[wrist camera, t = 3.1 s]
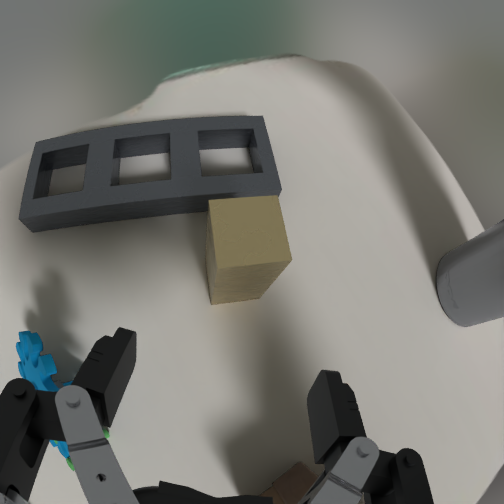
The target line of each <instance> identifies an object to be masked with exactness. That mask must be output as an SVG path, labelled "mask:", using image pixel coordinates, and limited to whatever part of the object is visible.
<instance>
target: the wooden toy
mask: <svg viewBox="0 0 504 504" xmlns="http://www.w3.org/2000/svg"><path fill="white" fill-rule="evenodd" d="M317 478H318V476H317V475H316V474H315V473H314V472H312V471H311V470H310V469H309V468H308V467H307V466H306V465H304V464H303V463H302V462H299V463H297V464H296V465H295V466H294V467H292V468H291V469H290V470H289V471H287V472H286V473H285V474H284V475H282V476H281V477H280V478H278V479H277V480H276V481H274V482H273V486H272V487H271V488H269V489H268V490H266V491H265V492H264V493H262V494H261V495H259V496H264V497H273V503H274V504H297V503H298V502H299V501H300V500H301V499H302V498H303V496H304V495H305V494H306V493H307V491H308V490H309V489H310V487H311V486H312V485H313V484H314V482H315V481H316V480H317Z"/></svg>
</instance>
